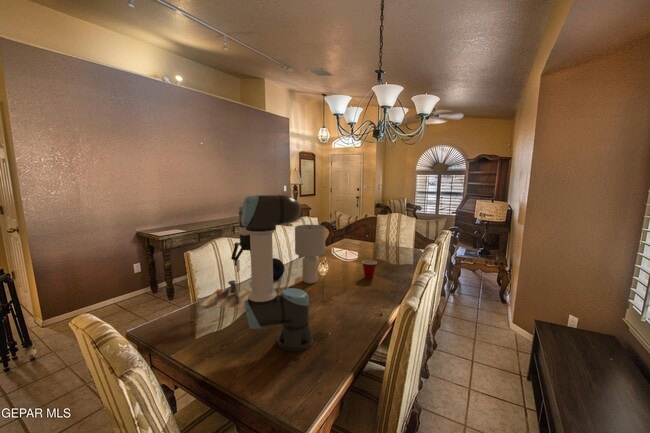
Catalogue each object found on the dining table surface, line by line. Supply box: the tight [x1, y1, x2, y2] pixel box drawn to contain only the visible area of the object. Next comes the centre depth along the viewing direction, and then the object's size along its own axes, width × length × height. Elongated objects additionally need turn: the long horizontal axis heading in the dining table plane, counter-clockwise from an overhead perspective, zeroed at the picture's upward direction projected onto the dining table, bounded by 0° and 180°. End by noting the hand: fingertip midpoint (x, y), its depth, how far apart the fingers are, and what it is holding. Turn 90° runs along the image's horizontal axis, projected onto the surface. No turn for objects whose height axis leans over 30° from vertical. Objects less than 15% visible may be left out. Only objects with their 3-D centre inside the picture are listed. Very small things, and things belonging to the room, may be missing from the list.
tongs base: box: [215, 285, 234, 305], centre depth 164 cm, size 19×3×5 cm, turn 170°
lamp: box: [294, 224, 326, 285], centre depth 192 cm, size 20×20×39 cm
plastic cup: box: [361, 260, 378, 280], centre depth 202 cm, size 11×11×12 cm
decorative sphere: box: [273, 257, 285, 281], centre depth 197 cm, size 15×15×15 cm
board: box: [199, 289, 252, 309], centre depth 165 cm, size 26×22×1 cm
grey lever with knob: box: [227, 279, 239, 304], centre depth 165 cm, size 20×5×6 cm, turn 25°
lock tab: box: [216, 289, 223, 296], centre depth 159 cm, size 3×2×2 cm, turn 170°
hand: (247, 271), depth 160 cm, fingers open, 11 cm apart
